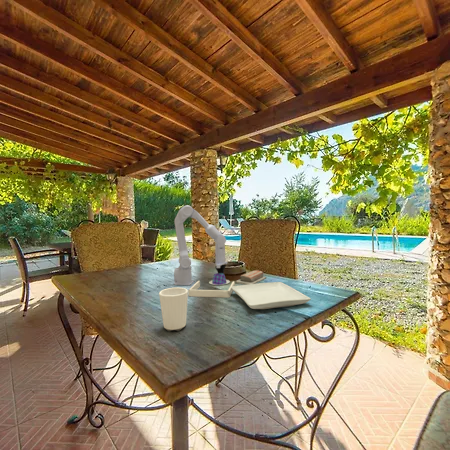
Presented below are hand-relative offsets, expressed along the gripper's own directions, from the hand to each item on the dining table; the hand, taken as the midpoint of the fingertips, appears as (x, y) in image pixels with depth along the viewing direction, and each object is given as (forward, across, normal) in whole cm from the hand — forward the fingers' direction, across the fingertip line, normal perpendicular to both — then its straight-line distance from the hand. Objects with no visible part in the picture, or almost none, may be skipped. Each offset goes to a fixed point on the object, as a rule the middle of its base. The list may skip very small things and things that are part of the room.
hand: (221, 277), depth 151 cm
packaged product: (+2, +1, -18) cm, 18 cm away
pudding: (+2, -5, 0) cm, 6 cm away
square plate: (+2, -32, -27) cm, 42 cm away
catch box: (+1, -21, 0) cm, 21 cm away
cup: (+2, -63, +4) cm, 63 cm away
